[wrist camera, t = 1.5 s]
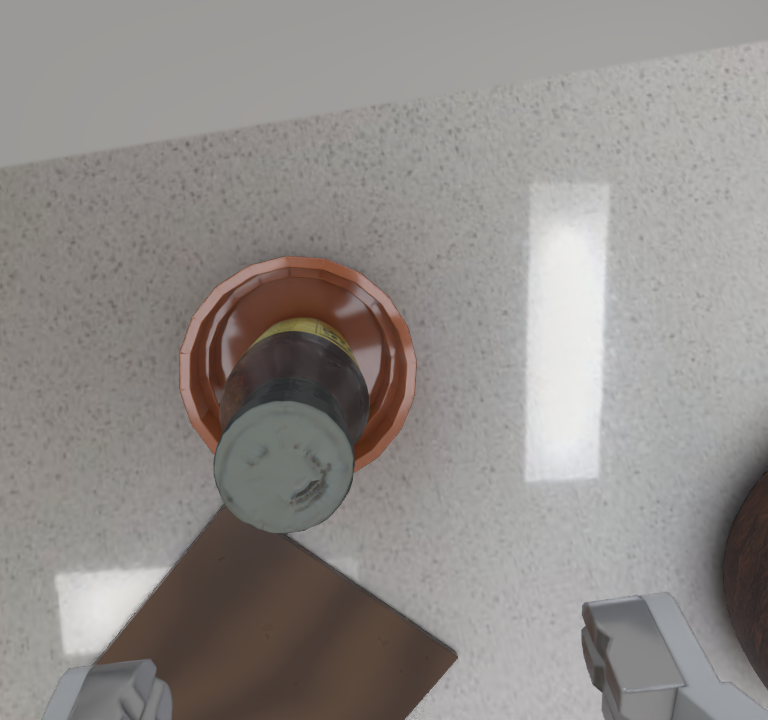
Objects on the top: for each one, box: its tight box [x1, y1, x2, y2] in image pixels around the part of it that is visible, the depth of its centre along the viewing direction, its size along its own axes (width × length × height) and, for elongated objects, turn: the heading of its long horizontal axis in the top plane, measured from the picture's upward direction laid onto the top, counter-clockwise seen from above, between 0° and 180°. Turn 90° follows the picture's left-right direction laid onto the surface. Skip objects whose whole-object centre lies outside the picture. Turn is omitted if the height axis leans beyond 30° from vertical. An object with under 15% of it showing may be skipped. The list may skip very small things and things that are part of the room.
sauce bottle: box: [214, 317, 370, 534], centre depth 26 cm, size 7×6×20 cm
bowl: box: [179, 256, 417, 473], centre depth 33 cm, size 13×13×5 cm
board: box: [94, 504, 458, 720], centre depth 39 cm, size 20×20×1 cm
